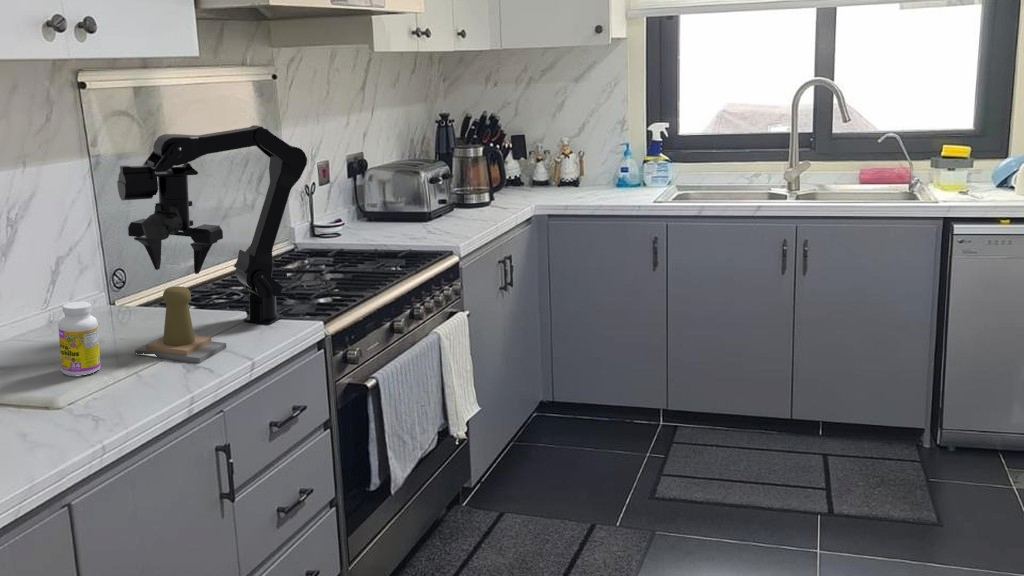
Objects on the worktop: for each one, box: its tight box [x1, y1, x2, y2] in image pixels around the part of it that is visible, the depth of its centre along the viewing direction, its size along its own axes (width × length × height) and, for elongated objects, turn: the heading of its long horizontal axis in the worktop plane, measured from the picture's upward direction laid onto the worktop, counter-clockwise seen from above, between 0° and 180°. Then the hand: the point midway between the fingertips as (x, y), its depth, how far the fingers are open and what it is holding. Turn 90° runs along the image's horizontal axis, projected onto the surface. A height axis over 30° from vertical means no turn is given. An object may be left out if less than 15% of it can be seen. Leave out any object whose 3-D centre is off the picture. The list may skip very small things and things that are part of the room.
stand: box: [134, 334, 227, 364], centre depth 195 cm, size 10×14×2 cm
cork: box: [162, 286, 195, 346], centre depth 193 cm, size 6×6×11 cm
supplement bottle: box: [57, 301, 101, 377], centre depth 180 cm, size 7×7×13 cm
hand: (177, 271), depth 204 cm, fingers open, 9 cm apart
